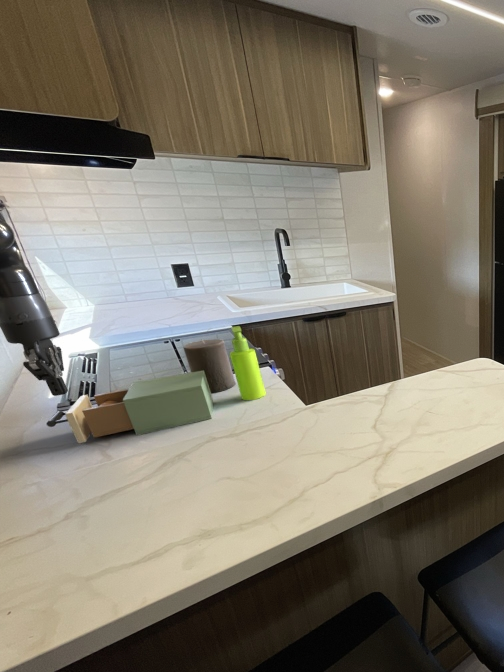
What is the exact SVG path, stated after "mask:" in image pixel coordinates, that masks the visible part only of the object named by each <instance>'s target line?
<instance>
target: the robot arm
mask: <svg viewBox="0 0 504 672" xmlns="http://www.w3.org/2000/svg"><path fill="white" fill-rule="evenodd" d="M0 330H1V332H2V334H3V336H4V338H5V340H6V342H7V343H9V344H11V345H12V344H13V345H14V344H15V345H17V344H19V345H22V348H23V352H22V353H23V355H24V358H25V359H26V361H23V362H22V365H23V367H24V368H25V369H26V370H27V371H28V372H29V373H31V375H33V376H34V377H35V378H36V379H37V381H44V382H45V383H46V385H47V387H48V389H49V391H50V394H51V395H52V396H54V397H58V396H62V395H63V396H64V395H66V394H67V393H68V392H69V389H68V387H67V385H66V382H65V381H64V378H63V375H64V374H63V373H64V371H65V368H64V360H63V353H62V348H61V347H60V346H57V345H56V344H54V343H53V341H52V340H51V339H54V338H57V337H59V336H60V334H61V333H60V331H59V328H58V326H57V324H56V321H55V319H54V316H53V315H52V312H51V310H50V307H49V305H48V303H47V301H46V300H45V299H44V297H43V295H42V294H41V292H40V289H39V287H38V284H37V281H36V280H35V278H34V276H33V274H32V272H31V271H30V269H29V268H28V267H27V265H26V263H25V259H24V257H23V255H22V253H21V249H20V247H19V244H18V242H17V238H16V235H15V232H14V230H13V228H12V227H11V225H10V224H8V223H7V221H5V220H3V219H2V218H0Z"/></svg>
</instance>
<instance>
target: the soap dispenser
mask: <svg viewBox="0 0 504 672" xmlns="http://www.w3.org/2000/svg"><path fill="white" fill-rule="evenodd" d="M230 329H231V330H232V333H233V336H234V338H232V339H231V343H232V347H233V351H231V352H229V357H230V358H229V359H230V361H231V364H232V365H231V366H232V369H233V373H234V375H235V380H236V382H237V383H236V384H237V386H238V389H239V393H240V397H241V399H242V401H255V400H258V399H261V398H264V397H265V396H266V394H267V393H266V389H265V385H264V380H263V376H262V372H261V369H260V364H259V360H258V357H257V352H256V350H255V348H250V347H249V344H248V340H247V337H244V336H243V334H242V332H243V331H242V328H241V326H240V325H235V326H231V328H230Z"/></svg>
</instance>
